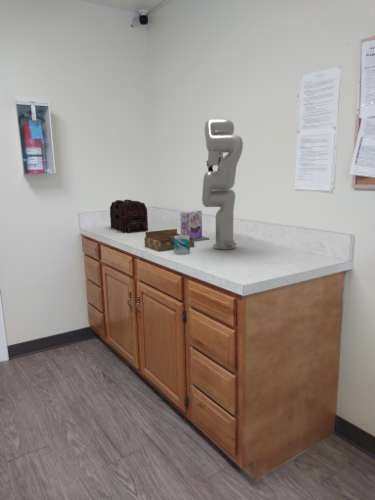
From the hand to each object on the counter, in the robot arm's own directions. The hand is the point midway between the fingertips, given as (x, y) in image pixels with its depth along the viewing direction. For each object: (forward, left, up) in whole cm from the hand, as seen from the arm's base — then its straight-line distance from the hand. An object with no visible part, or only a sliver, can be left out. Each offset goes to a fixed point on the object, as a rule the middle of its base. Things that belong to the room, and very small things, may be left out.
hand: (215, 175), depth 240 cm
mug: (-24, +39, -39) cm, 60 cm away
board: (+3, +16, -38) cm, 42 cm away
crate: (+68, +29, -39) cm, 83 cm away
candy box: (+2, +16, -38) cm, 41 cm away
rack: (-7, +37, -38) cm, 54 cm away
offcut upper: (-14, +36, -35) cm, 53 cm away
